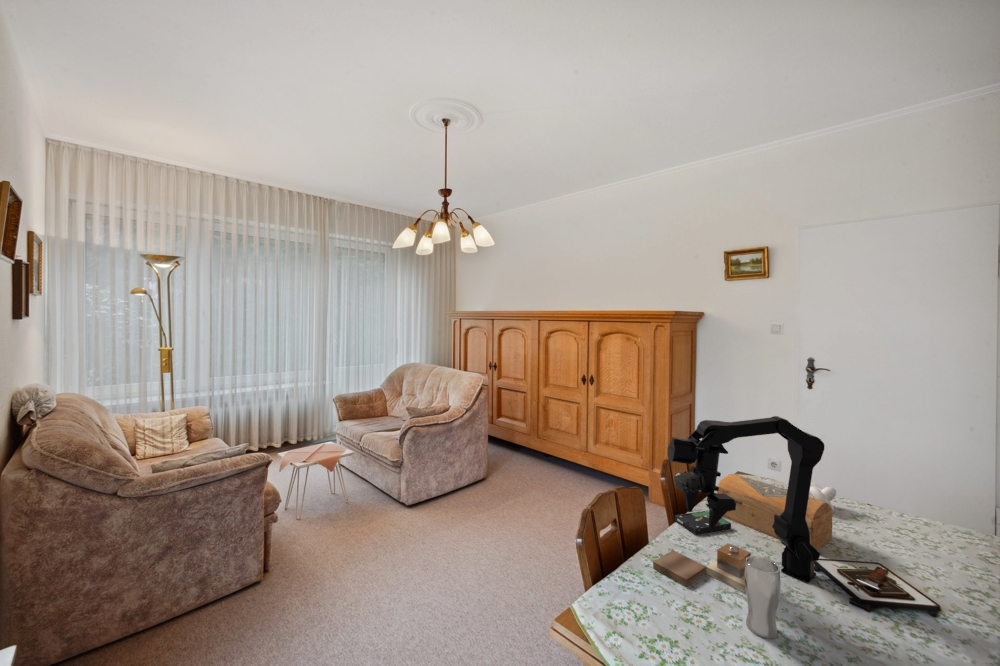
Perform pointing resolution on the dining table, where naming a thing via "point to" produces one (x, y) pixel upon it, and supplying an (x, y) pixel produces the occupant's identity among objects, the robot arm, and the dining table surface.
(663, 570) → the stand
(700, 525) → the disk drive
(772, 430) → the robot arm
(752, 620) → the beer glass
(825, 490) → the white knot sculpture
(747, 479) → the wooden box
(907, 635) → the dining table surface
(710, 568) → the stand
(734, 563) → the block
